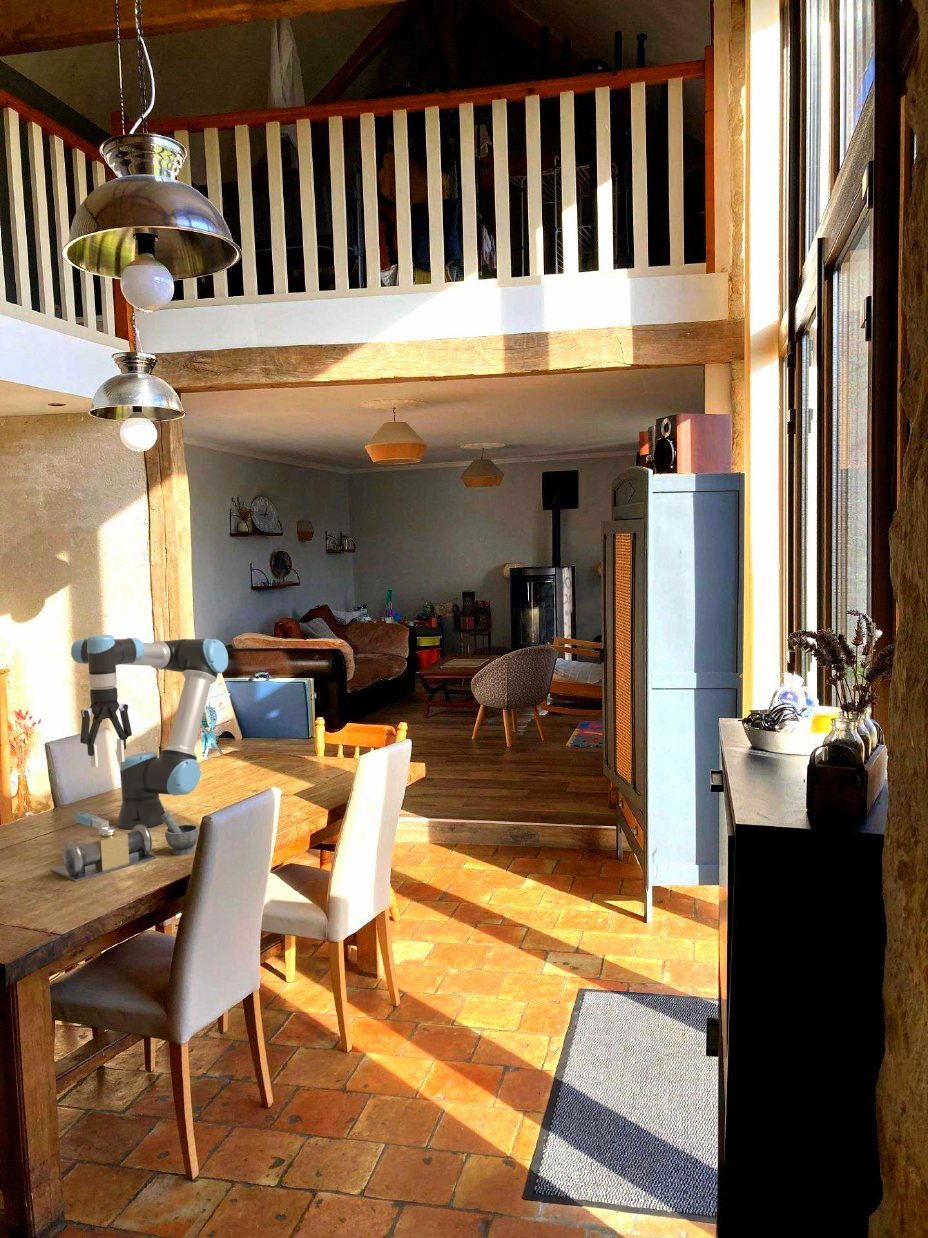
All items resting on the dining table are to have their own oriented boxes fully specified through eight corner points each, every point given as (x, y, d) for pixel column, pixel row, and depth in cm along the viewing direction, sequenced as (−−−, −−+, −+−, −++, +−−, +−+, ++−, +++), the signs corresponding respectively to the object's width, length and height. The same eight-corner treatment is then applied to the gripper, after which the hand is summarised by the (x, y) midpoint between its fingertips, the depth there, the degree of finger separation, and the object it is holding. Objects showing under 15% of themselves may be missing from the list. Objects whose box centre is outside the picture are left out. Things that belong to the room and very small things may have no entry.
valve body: (130, 849, 280) (128, 818, 279) (155, 858, 270) (154, 826, 269) (51, 870, 262) (48, 837, 261) (75, 881, 252) (73, 847, 251)
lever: (86, 822, 277) (85, 810, 276) (118, 833, 263) (117, 821, 263) (71, 826, 273) (71, 814, 273) (103, 837, 260) (103, 825, 260)
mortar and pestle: (205, 847, 279) (203, 808, 278) (191, 857, 270) (189, 816, 269) (171, 846, 281) (169, 807, 280) (156, 856, 272) (153, 816, 271)
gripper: (129, 682, 283) (133, 756, 285) (63, 691, 268) (68, 768, 270) (141, 684, 278) (146, 758, 280) (75, 693, 263) (80, 772, 265)
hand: (108, 763), depth 275 cm, fingers open, 8 cm apart
